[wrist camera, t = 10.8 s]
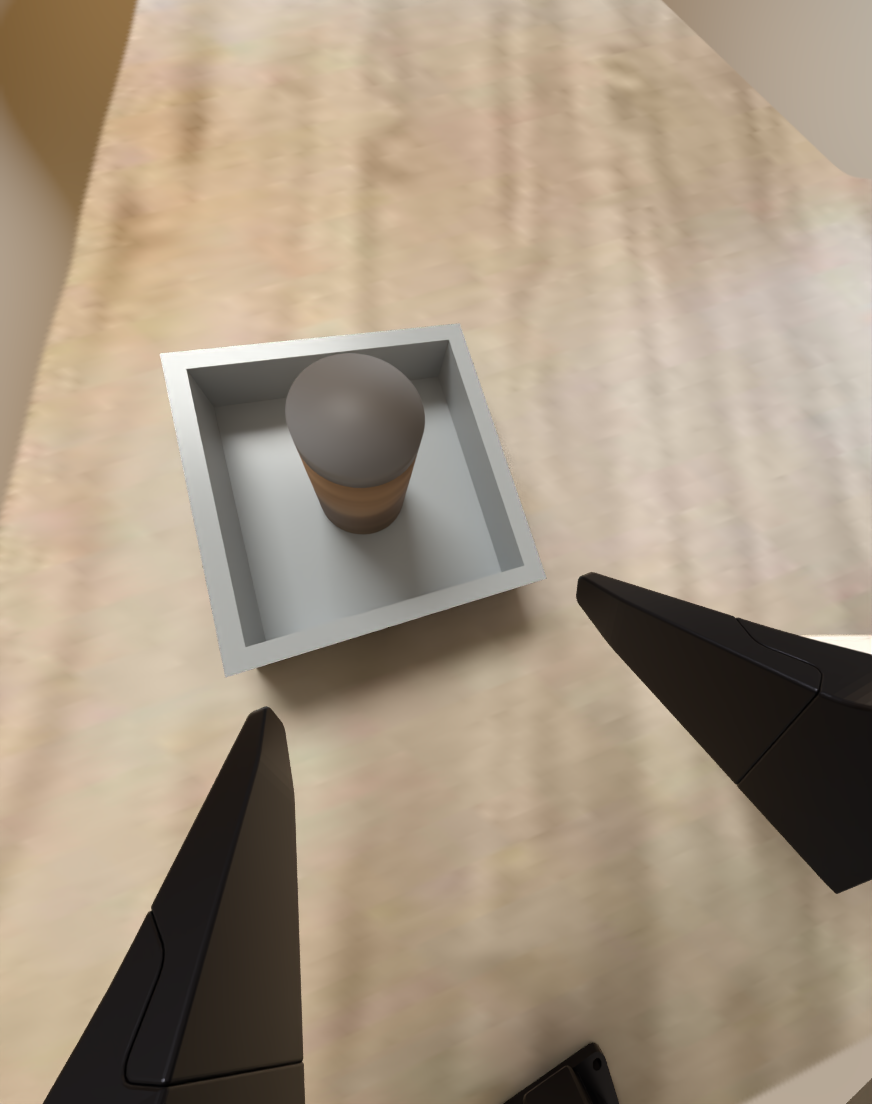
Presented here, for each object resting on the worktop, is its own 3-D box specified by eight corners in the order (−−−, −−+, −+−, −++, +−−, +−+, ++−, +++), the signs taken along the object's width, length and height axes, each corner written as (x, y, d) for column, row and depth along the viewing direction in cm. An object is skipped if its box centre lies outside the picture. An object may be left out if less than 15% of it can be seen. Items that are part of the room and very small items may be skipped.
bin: (516, 585, 22) (546, 578, 19) (254, 665, 19) (225, 677, 15) (445, 370, 25) (459, 323, 21) (198, 403, 21) (159, 353, 17)
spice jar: (394, 542, 21) (411, 491, 12) (309, 524, 20) (267, 457, 12) (410, 466, 22) (435, 374, 14) (330, 446, 21) (305, 336, 13)
